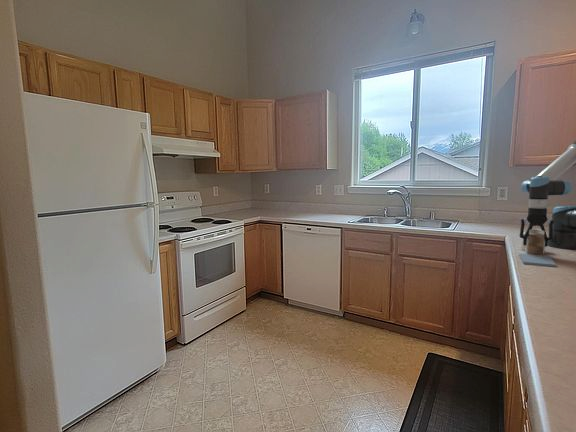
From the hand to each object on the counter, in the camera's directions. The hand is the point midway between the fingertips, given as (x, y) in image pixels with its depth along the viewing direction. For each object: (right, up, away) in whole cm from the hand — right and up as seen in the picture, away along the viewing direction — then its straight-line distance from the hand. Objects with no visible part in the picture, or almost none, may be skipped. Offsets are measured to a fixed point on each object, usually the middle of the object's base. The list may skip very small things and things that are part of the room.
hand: (534, 252), depth 166 cm
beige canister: (0, -1, 0) cm, 1 cm away
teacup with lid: (+7, 0, +11) cm, 13 cm away
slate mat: (-8, -3, -11) cm, 14 cm away
